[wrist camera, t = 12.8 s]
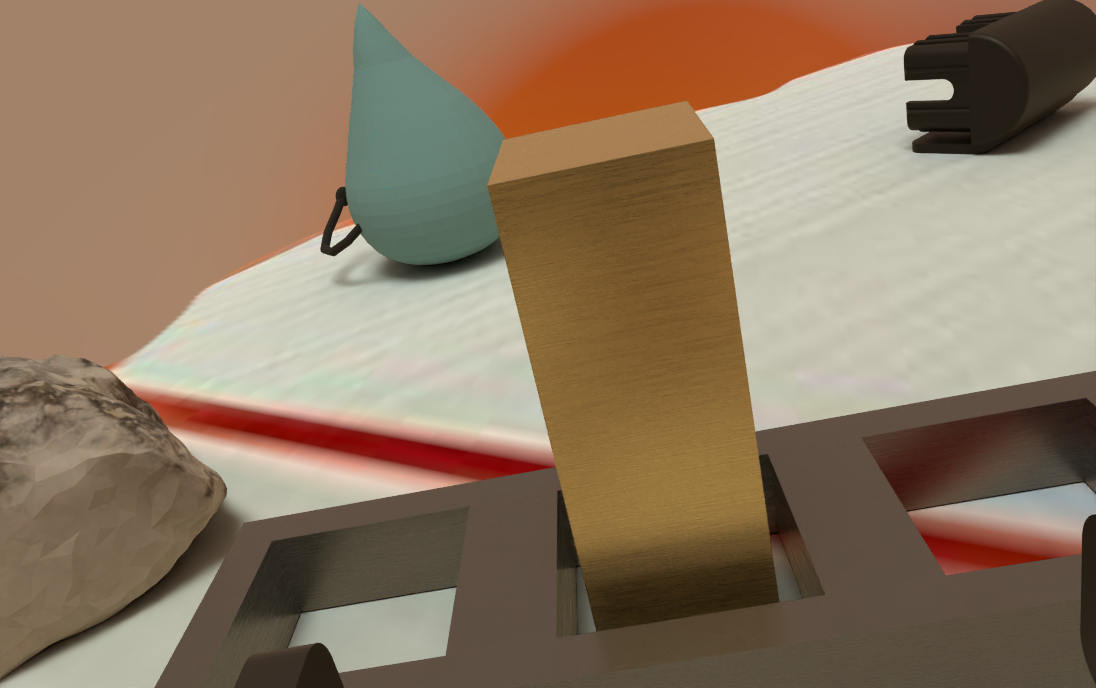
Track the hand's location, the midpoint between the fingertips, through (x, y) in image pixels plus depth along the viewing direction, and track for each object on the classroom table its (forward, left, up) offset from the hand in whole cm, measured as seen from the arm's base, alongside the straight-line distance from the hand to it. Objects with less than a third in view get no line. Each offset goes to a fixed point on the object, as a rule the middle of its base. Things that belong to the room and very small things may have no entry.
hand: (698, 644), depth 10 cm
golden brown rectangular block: (-6, +8, -8) cm, 13 cm away
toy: (-34, +32, -9) cm, 48 cm away
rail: (-6, +8, -8) cm, 13 cm away
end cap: (-7, +52, -9) cm, 54 cm away
